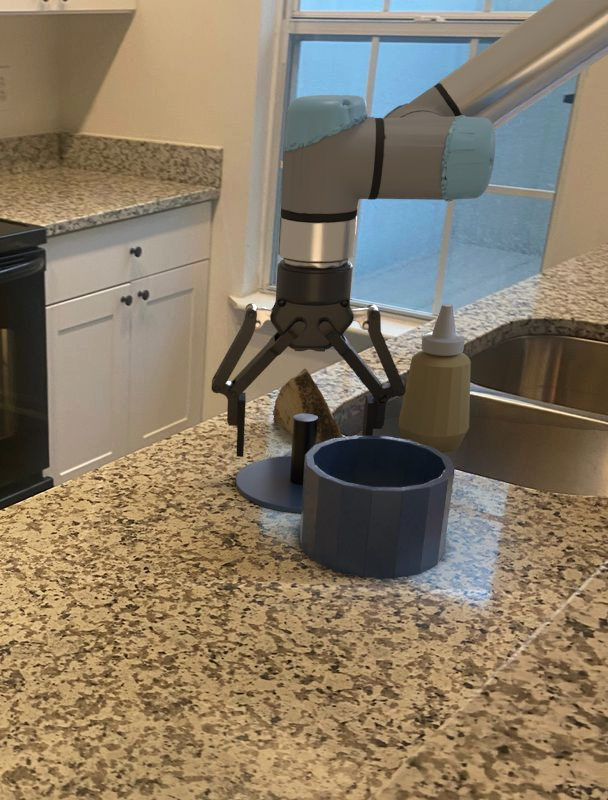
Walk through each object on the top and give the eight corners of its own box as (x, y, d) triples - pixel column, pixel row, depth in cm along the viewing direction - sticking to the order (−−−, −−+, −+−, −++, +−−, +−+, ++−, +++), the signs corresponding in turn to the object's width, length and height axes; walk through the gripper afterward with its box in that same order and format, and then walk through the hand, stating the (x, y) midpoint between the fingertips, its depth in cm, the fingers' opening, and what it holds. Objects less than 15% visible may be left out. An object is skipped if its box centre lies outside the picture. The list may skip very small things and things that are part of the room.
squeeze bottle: (393, 462, 121) (409, 312, 114) (396, 438, 128) (411, 295, 121) (465, 468, 119) (486, 316, 111) (464, 443, 126) (484, 298, 118)
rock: (251, 406, 134) (256, 423, 124) (293, 353, 131) (302, 366, 122) (316, 455, 135) (326, 475, 125) (359, 403, 132) (373, 420, 123)
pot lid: (360, 466, 120) (367, 396, 117) (375, 520, 107) (382, 443, 104) (235, 463, 122) (237, 394, 119) (235, 516, 109) (237, 440, 106)
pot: (429, 521, 107) (439, 436, 103) (453, 586, 95) (466, 492, 91) (296, 518, 109) (301, 434, 104) (303, 580, 96) (309, 488, 92)
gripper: (436, 252, 106) (413, 444, 115) (193, 252, 109) (190, 438, 118) (449, 268, 99) (424, 470, 108) (190, 267, 102) (187, 463, 111)
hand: (302, 454), depth 113 cm, fingers open, 13 cm apart
